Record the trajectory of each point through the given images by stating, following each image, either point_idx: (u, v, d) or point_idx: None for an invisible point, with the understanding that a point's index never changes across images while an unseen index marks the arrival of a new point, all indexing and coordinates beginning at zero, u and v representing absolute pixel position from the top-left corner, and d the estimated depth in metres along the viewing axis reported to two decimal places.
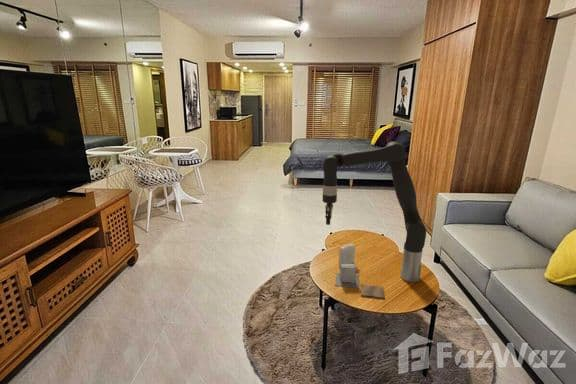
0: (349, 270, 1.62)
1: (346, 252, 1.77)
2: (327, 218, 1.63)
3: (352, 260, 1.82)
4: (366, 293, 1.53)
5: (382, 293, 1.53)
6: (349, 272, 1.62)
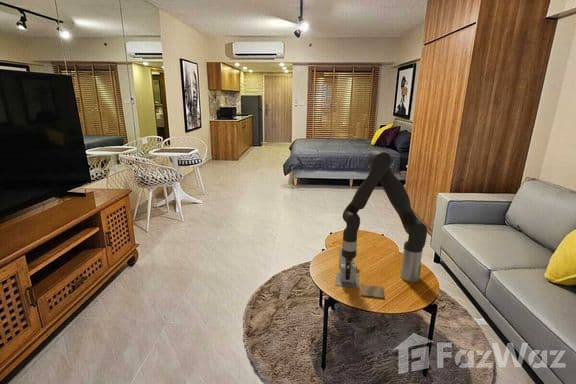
0: None
1: None
2: None
3: (352, 260, 1.82)
4: (366, 293, 1.53)
5: (382, 293, 1.53)
6: None
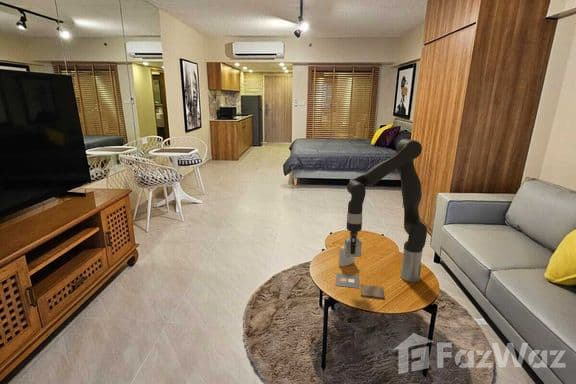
0: None
1: None
2: (352, 248, 1.55)
3: (352, 260, 1.82)
4: (366, 293, 1.53)
5: (382, 293, 1.53)
6: None
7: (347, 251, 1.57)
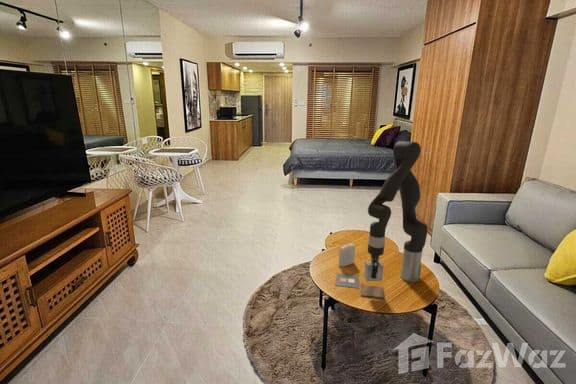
0: None
1: (346, 252, 1.77)
2: (373, 272, 1.48)
3: (352, 260, 1.82)
4: (366, 293, 1.53)
5: (382, 293, 1.53)
6: None
7: (368, 275, 1.51)
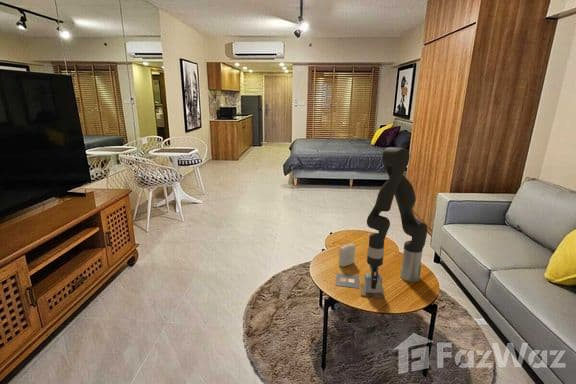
0: None
1: (346, 252, 1.77)
2: None
3: (352, 260, 1.82)
4: (366, 293, 1.53)
5: (382, 293, 1.53)
6: None
7: (367, 287, 1.52)
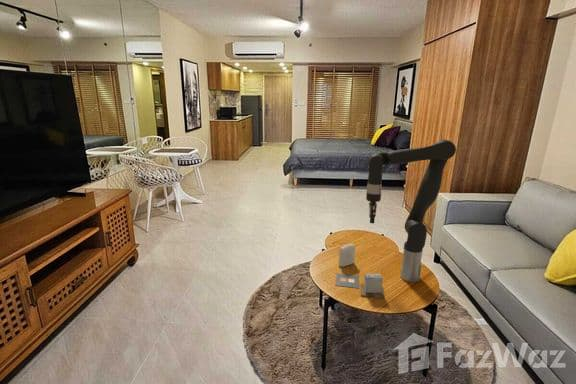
0: (375, 280, 1.51)
1: (346, 252, 1.77)
2: (372, 217, 1.62)
3: (352, 260, 1.82)
4: (366, 293, 1.53)
5: (382, 293, 1.53)
6: (374, 283, 1.52)
7: (367, 287, 1.52)
